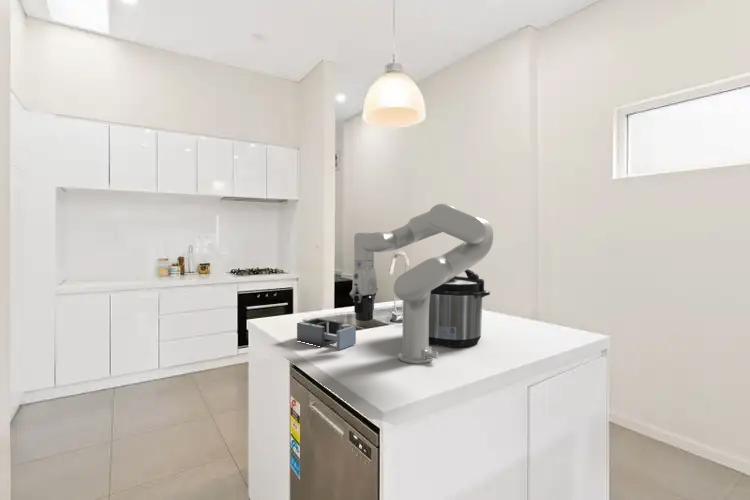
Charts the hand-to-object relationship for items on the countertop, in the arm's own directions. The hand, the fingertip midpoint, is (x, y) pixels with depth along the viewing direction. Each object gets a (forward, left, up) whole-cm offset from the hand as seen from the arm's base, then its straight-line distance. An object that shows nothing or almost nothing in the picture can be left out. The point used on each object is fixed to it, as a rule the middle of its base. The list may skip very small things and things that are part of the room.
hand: (364, 311), depth 149 cm
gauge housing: (+23, 0, -16) cm, 28 cm away
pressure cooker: (-19, -35, -16) cm, 43 cm away
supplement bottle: (0, 0, -3) cm, 3 cm away
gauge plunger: (+14, +1, -15) cm, 21 cm away
